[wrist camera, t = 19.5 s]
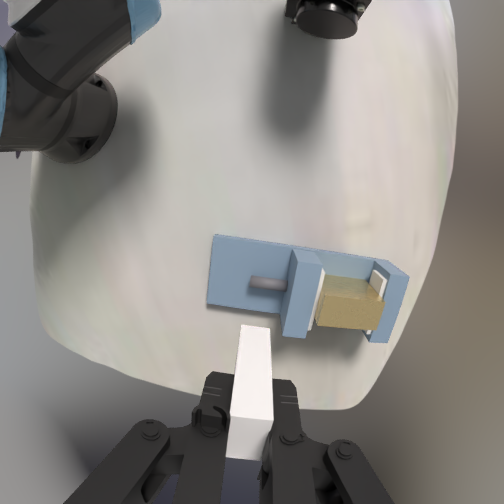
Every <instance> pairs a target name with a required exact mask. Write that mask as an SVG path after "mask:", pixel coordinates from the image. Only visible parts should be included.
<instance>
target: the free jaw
mask: <svg viewBox="0 0 504 504" xmlns="http://www.w3.org/2000/svg"><path fill="white" fill-rule="evenodd" d="M322 267H323V264H322V263H321V261H320V260H319V258H318V257H317V255H316V254H315V252H313V251H306V250H300V249H292V255H291V260H290V266H289V271H288V276H287V280H281V279H274V278H267V277H260V276H253V275H251V278H250V285H249V287H253V288H260V289H267V290H274V291H282V292H284V297H283V301H282V306H281V311H280V321H281V329H282V336H286V337H295V338H306V334H307V330H311V328H312V325H313V321H314V317H315V313H316V309H317V305H318V301H319V297H320V293H321V288H322V284H323V280H324V276H325V271H324V270H323V268H322Z"/></svg>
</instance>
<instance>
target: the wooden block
mask: <svg viewBox="0 0 504 504" xmlns="http://www.w3.org/2000/svg"><path fill="white" fill-rule="evenodd" d="M385 303H386V302H385V301H384V300H383V298H382V297H381V296H380V295H379V294H378V293H377V292H376V291H375V290H374V288H373V287H372V286H371V285H370V284H369V283H368V282H367V281H366V280H364V279H357V278H349V277H342V276H335V275H327V274H325V276H324V280H323V284H322V288H321V293H320V297H319V301H318V305H317V309H316V313H315V320H316V323H317V326H327V327H338V328H349V329H362V330H377V327H378V324H379V321H380V318H381V315H382V312H383V309H384V306H385Z"/></svg>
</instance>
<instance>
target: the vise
mask: <svg viewBox="0 0 504 504" xmlns="http://www.w3.org/2000/svg"><path fill="white" fill-rule="evenodd" d="M292 249H300V250H306V251H313V252H315V254H316V255H317V257H318V258H319V260H320V261H321V263H322V264H323V267H322V268H323V270H324V271H325V274H327V275H335V276H342V277H349V278H357V279H364V280H366V281H367V282H368V283H369V284H370V285H371V286H372V287H373V288H374V290H375V291H376V292H377V293H378V294H379V295H380V296H381V297H382V298H383V300H384V301H385V302H386V303H385V306H384V309H383V312H382V315H381V318H380V321H379V324H378V327H377V330H362V331H363V333H364V334H365V336H366V338H367V340H368V341H369V342H373V343H388V340H389V338H390V335H391V332H392V330H393V327H394V324H395V321H396V318H397V316H398V313H399V310H400V307H401V304H402V301H403V297H404V294H405V291H406V288H407V284H408V281H409V276H408V275H407V274H405V273H404V272H403V271H401V270H400V269H399V268H397V267H396V266H395V265H393V264H392V263H391V262H389V261H388V260H382V259H376V258H370V257H363V256H357V255H351V254H345V253H338V252H332V251H325V250H319V249H312V248H306V247H299V246H293V245H286V244H279V243H273V242H266V241H259V240H252V239H246V238H239V237H232V236H225V235H218V234H215V235H214V238H213V246H212V255H211V265H210V274H209V284H208V295H207V303H208V304H215V305H221V306H227V307H234V308H241V309H247V310H254V311H262V312H269V313H277V314H280V311H281V306H282V301H283V297H284V292H282V291H274V290H267V289H260V288H253V287H249V285H250V278H251V275H253V276H260V277H267V278H274V279H281V280H287V276H288V271H289V266H290V260H291V255H292ZM314 318H315V317H314Z"/></svg>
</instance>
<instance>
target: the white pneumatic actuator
mask: <svg viewBox="0 0 504 504" xmlns="http://www.w3.org/2000/svg"><path fill="white" fill-rule="evenodd" d="M371 1H372V0H287V1H286V8H285V16H286V17H292V24H297V25H298V27H299V28H300V29H302V30H303V31H305V32H306V33H307V34H310V35H313V36H317V37H321V38H326V39H345V38H349V37H351V36H353V35H354V34H355V33H356V32H357V26H358V20H359V19H360V17H361V16H362V14H363V13H364V11H365V10H366V8H367V7H368V5H369V4H370V3H371Z"/></svg>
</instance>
